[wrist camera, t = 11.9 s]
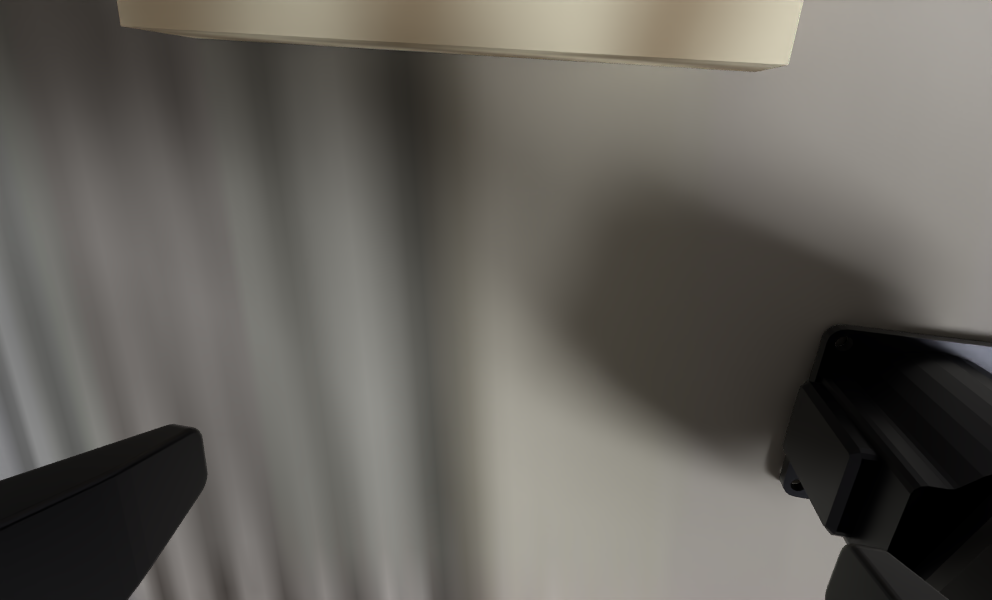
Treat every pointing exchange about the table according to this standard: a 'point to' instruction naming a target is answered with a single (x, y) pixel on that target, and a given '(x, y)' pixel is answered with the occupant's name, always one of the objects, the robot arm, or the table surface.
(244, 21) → the socket block
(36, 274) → the table surface
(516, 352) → the table surface
